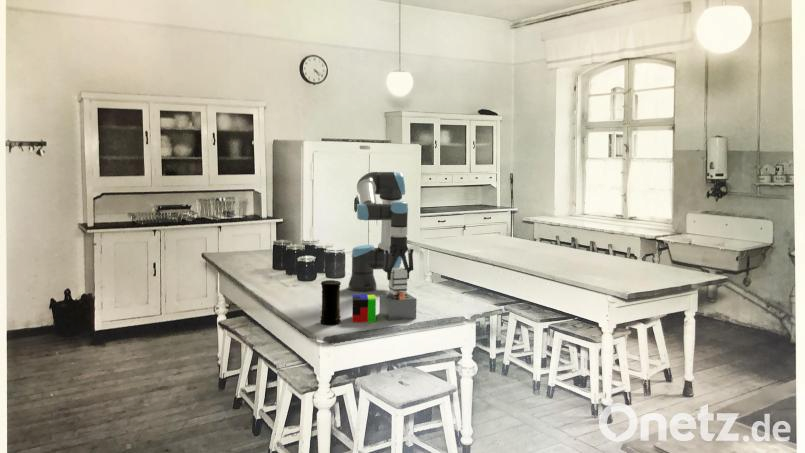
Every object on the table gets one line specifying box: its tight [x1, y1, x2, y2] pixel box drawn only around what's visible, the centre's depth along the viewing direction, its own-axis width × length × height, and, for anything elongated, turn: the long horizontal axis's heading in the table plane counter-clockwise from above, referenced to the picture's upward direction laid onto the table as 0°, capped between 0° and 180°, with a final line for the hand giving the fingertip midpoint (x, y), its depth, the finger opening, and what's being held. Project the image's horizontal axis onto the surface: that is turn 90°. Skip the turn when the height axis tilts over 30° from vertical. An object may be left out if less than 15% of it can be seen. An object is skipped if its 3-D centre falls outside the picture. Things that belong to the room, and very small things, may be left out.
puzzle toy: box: [351, 294, 377, 323], centre depth 292 cm, size 10×10×10 cm
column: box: [388, 267, 408, 299], centre depth 298 cm, size 6×6×20 cm
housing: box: [378, 292, 418, 322], centre depth 298 cm, size 13×13×12 cm
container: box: [319, 279, 342, 326], centre depth 285 cm, size 9×9×18 cm
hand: (398, 286), depth 297 cm, fingers closed on column, 6 cm apart
